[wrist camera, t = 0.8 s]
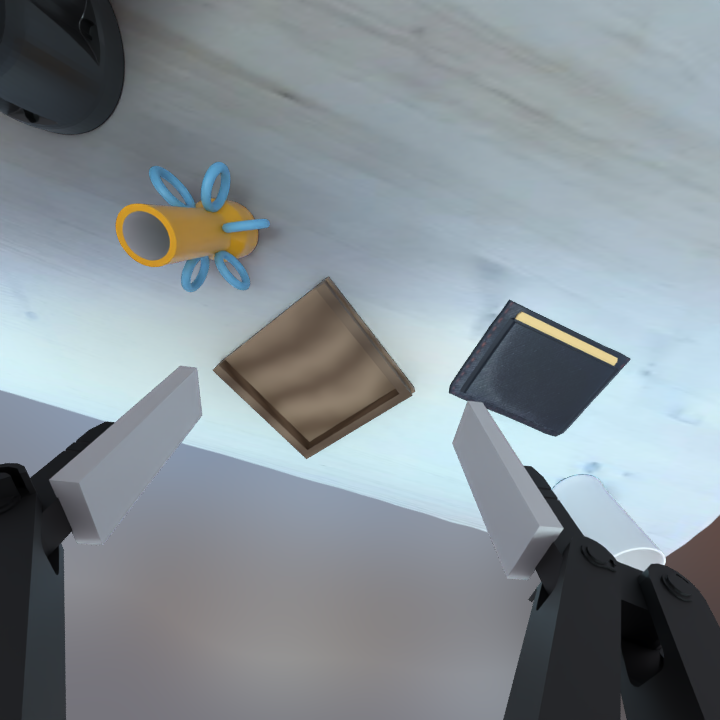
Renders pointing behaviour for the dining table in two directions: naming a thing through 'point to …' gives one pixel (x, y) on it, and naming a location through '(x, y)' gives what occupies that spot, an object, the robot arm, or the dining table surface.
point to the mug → (607, 521)
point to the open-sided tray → (316, 371)
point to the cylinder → (191, 229)
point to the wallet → (536, 370)
